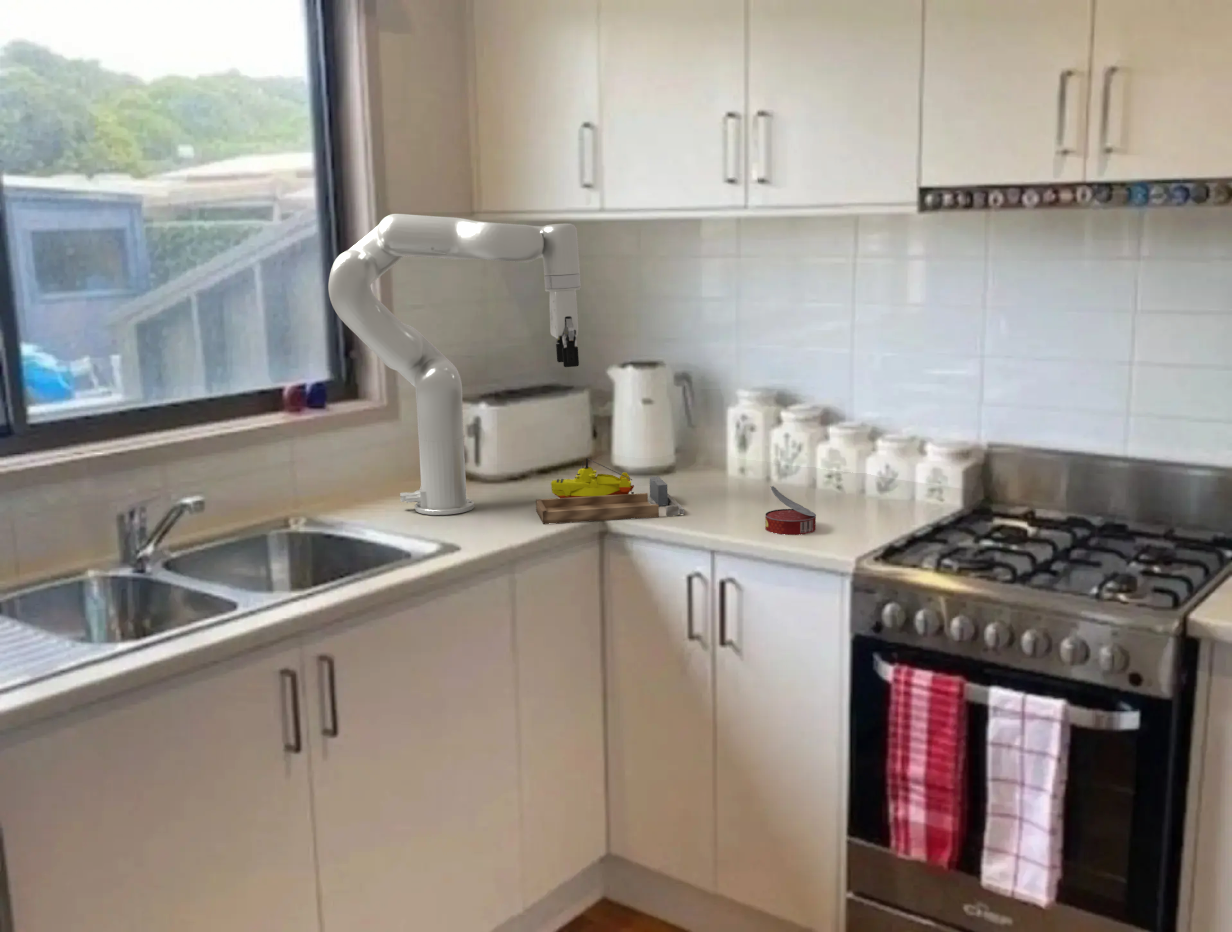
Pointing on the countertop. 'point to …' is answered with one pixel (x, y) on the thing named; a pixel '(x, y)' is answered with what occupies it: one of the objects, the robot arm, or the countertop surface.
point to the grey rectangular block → (658, 491)
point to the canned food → (790, 518)
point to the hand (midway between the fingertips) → (567, 364)
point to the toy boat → (592, 484)
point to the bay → (601, 508)
